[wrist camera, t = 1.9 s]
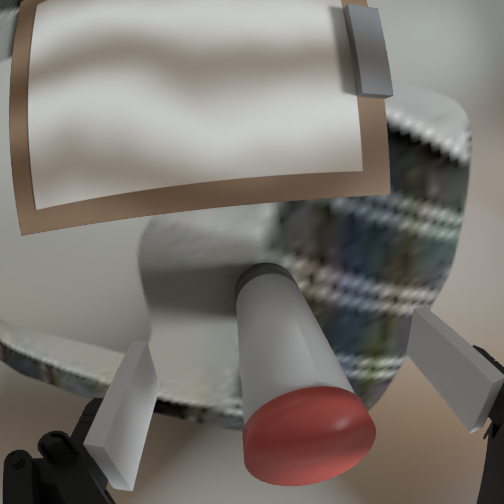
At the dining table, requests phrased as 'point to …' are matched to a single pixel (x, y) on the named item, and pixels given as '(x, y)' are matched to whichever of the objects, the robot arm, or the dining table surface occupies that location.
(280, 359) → the marker
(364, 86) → the clipboard
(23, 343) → the dining table surface
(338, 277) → the dining table surface
